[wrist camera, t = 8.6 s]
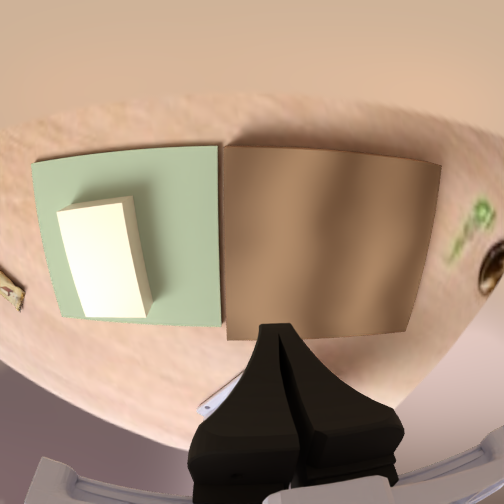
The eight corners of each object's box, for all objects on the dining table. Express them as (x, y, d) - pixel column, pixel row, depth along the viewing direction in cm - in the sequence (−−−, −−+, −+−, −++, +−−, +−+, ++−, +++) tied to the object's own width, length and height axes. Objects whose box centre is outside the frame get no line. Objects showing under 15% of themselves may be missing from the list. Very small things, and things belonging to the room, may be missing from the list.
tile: (56, 211, 17) (70, 204, 19) (86, 316, 20) (95, 303, 22) (121, 202, 17) (132, 195, 19) (146, 317, 20) (153, 302, 22)
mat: (217, 145, 18) (217, 145, 18) (221, 323, 23) (221, 326, 23) (34, 162, 18) (31, 163, 17) (64, 314, 23) (62, 316, 22)
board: (426, 161, 19) (441, 165, 17) (395, 317, 24) (405, 331, 22) (225, 145, 18) (223, 147, 16) (227, 324, 23) (227, 340, 21)
